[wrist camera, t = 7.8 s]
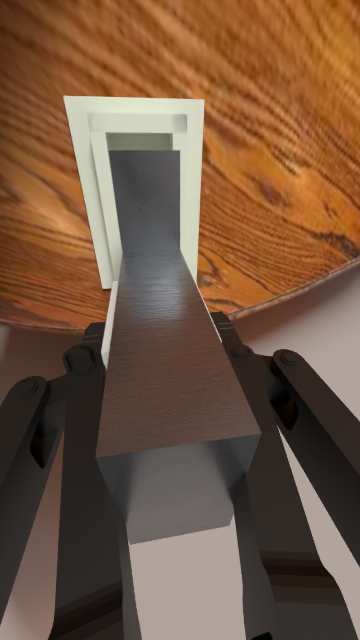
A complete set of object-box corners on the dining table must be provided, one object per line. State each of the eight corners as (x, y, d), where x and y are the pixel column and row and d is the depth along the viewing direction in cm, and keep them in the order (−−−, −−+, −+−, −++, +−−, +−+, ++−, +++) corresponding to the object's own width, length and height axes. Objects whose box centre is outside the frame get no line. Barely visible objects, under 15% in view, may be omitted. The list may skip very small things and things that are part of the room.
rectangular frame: (103, 285, 31) (99, 300, 28) (66, 97, 21) (53, 88, 18) (194, 279, 33) (201, 293, 30) (201, 101, 22) (212, 93, 19)
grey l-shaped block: (133, 316, 20) (130, 544, 8) (111, 150, 13) (-27, 154, 2) (176, 312, 20) (229, 525, 9) (175, 149, 14) (358, 155, 2)
